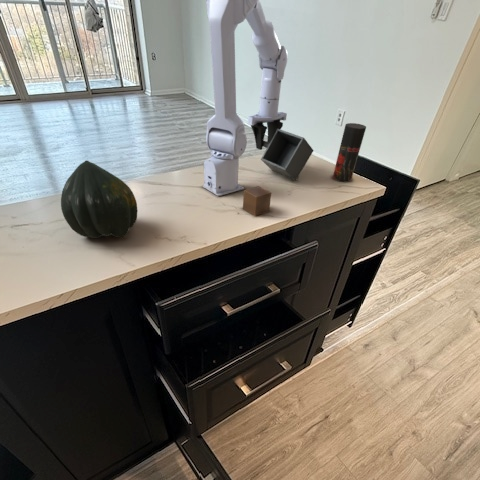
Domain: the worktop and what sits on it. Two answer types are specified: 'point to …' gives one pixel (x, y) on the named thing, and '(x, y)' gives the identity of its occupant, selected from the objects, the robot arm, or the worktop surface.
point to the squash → (98, 202)
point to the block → (256, 200)
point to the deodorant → (348, 151)
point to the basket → (287, 154)
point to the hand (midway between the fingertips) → (264, 147)
